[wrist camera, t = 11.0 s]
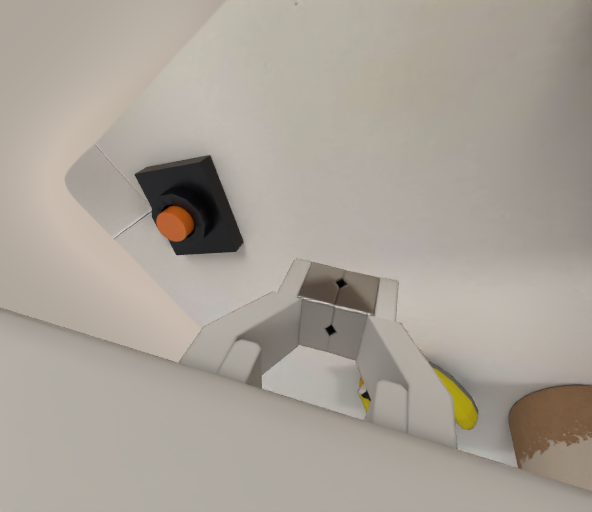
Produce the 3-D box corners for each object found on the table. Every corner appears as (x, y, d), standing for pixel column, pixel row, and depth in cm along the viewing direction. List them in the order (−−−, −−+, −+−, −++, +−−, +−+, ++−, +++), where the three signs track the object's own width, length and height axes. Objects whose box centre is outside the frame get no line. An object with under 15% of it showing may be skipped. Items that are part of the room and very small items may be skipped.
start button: (160, 207, 37) (150, 214, 36) (186, 203, 36) (176, 211, 35) (174, 234, 39) (165, 242, 38) (199, 232, 38) (191, 240, 36)
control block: (146, 167, 39) (123, 180, 36) (210, 154, 36) (190, 168, 33) (185, 246, 45) (168, 263, 42) (243, 242, 41) (229, 260, 38)
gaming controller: (480, 392, 44) (439, 344, 42) (486, 433, 40) (441, 382, 37) (383, 411, 53) (344, 372, 50) (380, 445, 49) (337, 405, 46)
